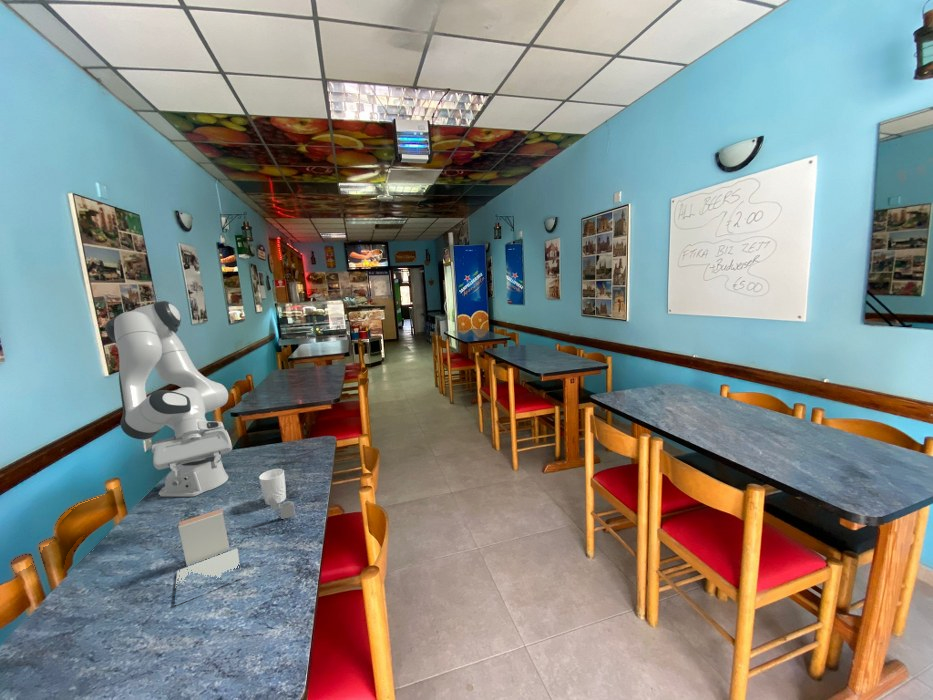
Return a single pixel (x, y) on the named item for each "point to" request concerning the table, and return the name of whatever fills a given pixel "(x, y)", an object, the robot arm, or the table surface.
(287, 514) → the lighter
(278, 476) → the white cup
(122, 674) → the table surface
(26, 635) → the table surface
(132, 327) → the robot arm
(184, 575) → the mat
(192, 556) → the tile
